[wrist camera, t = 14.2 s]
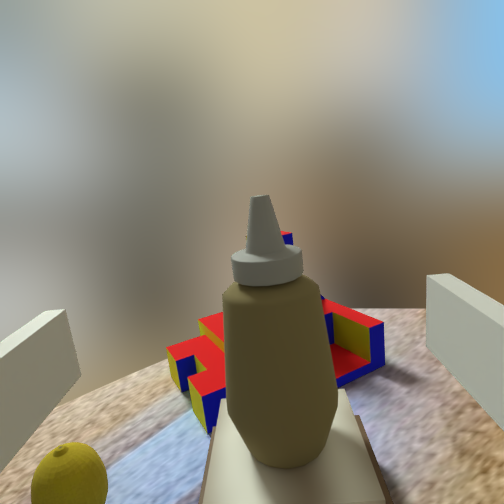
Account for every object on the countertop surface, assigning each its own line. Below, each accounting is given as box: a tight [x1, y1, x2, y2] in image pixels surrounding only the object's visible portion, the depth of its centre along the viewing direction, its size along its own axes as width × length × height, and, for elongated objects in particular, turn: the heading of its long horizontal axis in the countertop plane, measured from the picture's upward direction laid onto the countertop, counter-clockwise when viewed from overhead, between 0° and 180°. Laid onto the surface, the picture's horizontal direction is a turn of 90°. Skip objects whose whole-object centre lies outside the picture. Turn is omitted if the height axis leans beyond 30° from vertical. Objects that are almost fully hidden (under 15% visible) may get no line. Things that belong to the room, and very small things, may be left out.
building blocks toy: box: [166, 231, 385, 434], centre depth 50 cm, size 19×25×18 cm
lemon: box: [31, 442, 108, 504], centre depth 30 cm, size 6×6×8 cm
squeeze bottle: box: [222, 195, 338, 469], centre depth 25 cm, size 8×8×18 cm
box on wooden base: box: [198, 389, 394, 504], centre depth 28 cm, size 14×14×8 cm
